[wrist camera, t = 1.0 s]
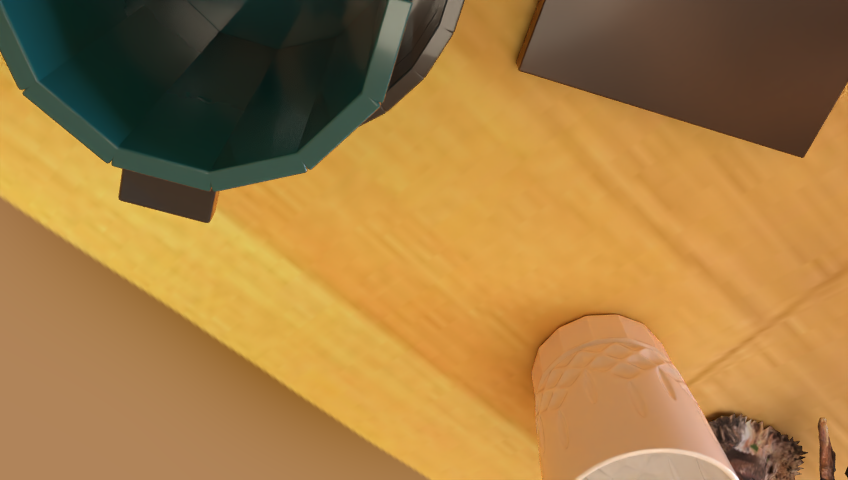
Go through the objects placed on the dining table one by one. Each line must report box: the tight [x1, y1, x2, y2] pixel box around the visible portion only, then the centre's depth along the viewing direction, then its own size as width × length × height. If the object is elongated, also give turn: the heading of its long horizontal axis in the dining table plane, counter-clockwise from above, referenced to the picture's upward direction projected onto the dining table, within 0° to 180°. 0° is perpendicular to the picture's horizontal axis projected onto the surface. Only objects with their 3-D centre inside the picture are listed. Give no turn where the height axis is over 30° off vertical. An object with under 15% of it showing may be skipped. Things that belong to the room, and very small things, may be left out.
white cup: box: [532, 314, 739, 480], centre depth 36 cm, size 8×8×10 cm
